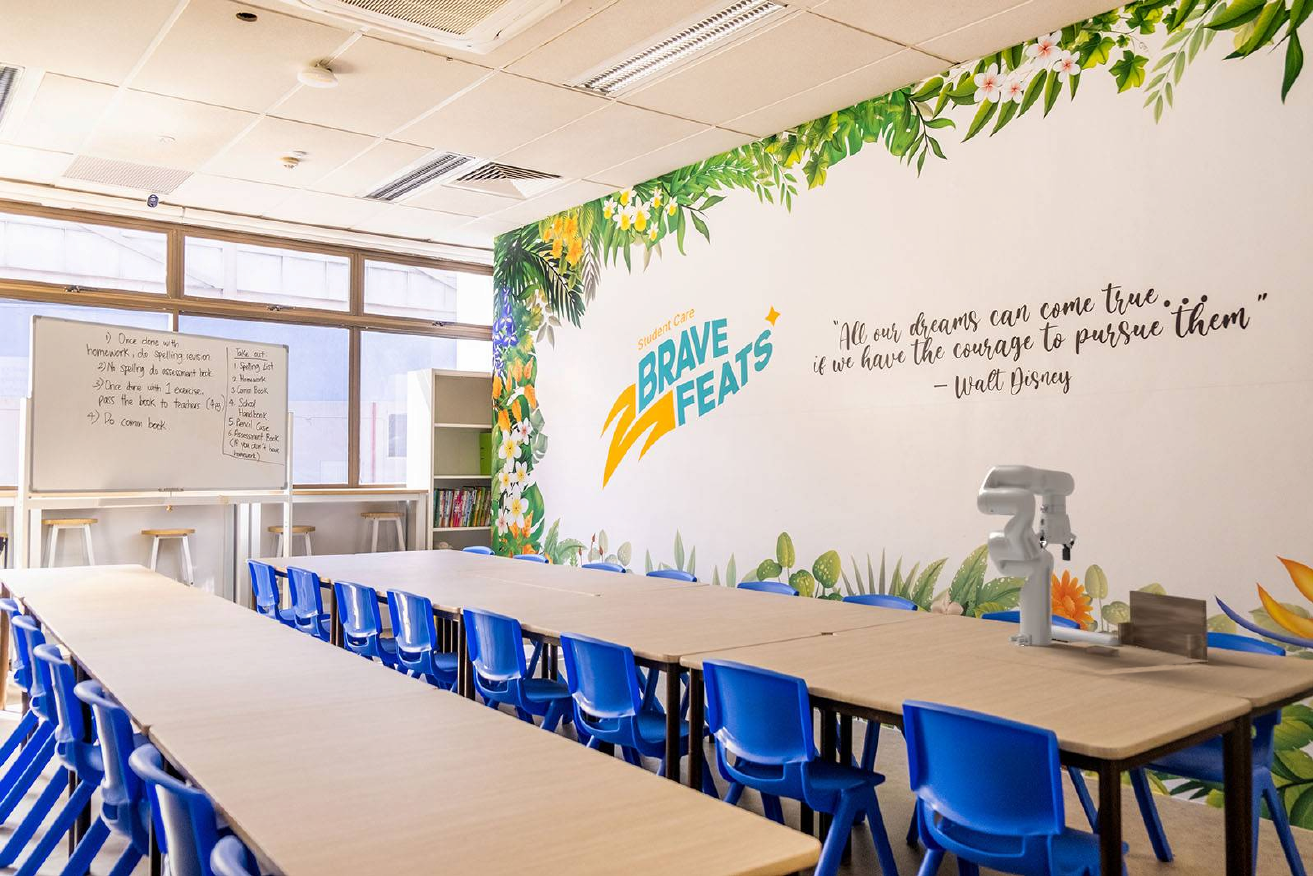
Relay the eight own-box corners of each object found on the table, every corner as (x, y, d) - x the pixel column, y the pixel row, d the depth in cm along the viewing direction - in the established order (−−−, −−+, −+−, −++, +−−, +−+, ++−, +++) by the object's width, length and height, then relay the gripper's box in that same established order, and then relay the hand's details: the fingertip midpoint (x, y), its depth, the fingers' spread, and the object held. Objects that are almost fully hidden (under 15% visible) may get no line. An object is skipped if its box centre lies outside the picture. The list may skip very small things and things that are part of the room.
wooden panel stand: (1190, 663, 296) (1189, 601, 296) (1118, 647, 322) (1117, 591, 323) (1207, 661, 298) (1206, 600, 299) (1134, 646, 324) (1133, 590, 325)
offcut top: (1109, 657, 298) (1109, 650, 298) (1087, 653, 305) (1087, 646, 305) (1118, 656, 300) (1118, 649, 300) (1096, 652, 307) (1096, 645, 307)
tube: (1124, 637, 320) (1059, 626, 342) (1113, 633, 317) (1048, 622, 339) (1120, 654, 319) (1055, 642, 341) (1110, 650, 316) (1045, 638, 338)
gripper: (1040, 510, 335) (1041, 562, 335) (1082, 510, 341) (1083, 561, 340) (1025, 510, 342) (1026, 560, 342) (1066, 509, 348) (1067, 559, 347)
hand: (1054, 560), depth 341 cm, fingers open, 9 cm apart
